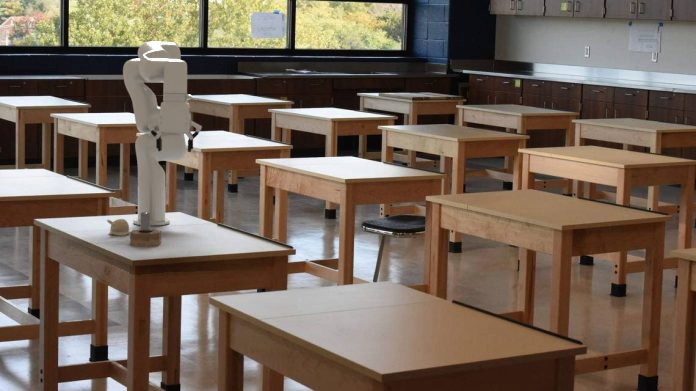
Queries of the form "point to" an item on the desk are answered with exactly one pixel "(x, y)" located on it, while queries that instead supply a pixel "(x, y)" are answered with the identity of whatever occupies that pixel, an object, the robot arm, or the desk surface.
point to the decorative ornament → (119, 227)
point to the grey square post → (145, 222)
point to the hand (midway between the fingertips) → (174, 151)
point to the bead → (145, 238)
